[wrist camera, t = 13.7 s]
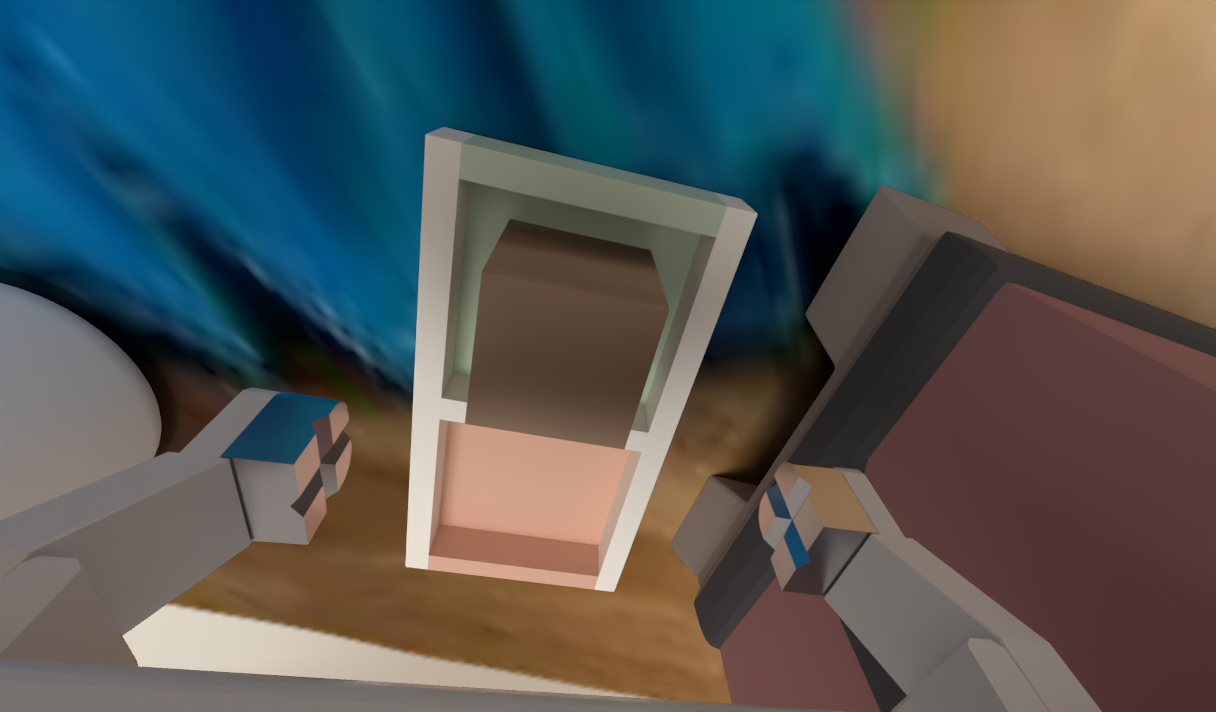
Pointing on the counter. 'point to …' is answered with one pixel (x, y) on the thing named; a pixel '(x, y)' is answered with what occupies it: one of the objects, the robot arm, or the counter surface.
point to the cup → (65, 403)
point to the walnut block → (564, 335)
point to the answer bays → (528, 464)
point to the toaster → (989, 470)
